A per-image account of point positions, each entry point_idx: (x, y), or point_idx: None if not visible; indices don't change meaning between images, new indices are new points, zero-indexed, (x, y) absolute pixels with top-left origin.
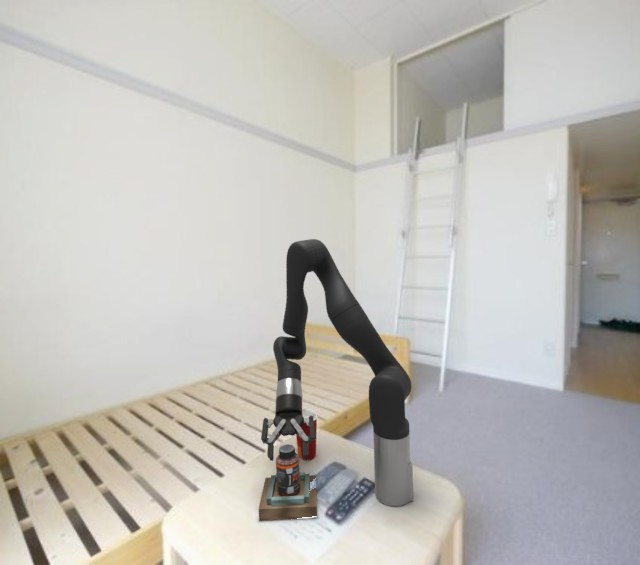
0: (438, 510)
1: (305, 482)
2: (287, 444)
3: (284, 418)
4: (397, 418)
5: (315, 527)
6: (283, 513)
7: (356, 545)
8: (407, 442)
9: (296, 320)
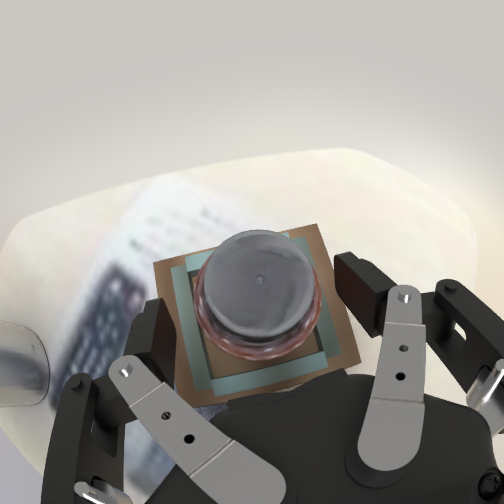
0: None
1: (197, 338)
2: (271, 329)
3: (391, 498)
4: None
5: (164, 244)
6: None
7: (88, 219)
8: None
9: None
